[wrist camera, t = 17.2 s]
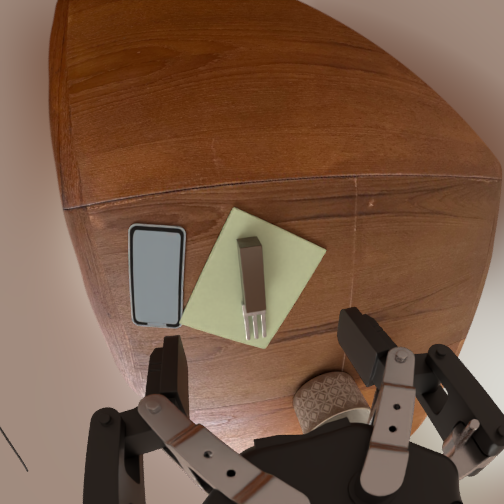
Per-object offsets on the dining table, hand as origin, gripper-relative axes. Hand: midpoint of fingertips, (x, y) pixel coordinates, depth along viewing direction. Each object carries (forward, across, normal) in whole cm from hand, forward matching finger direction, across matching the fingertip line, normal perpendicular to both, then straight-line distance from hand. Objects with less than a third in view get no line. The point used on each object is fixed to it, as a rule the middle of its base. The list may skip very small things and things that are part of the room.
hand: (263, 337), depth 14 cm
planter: (+23, -15, +37) cm, 46 cm away
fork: (+23, -3, +11) cm, 26 cm away
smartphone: (+24, +10, +8) cm, 27 cm away
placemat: (+23, -3, +11) cm, 26 cm away
